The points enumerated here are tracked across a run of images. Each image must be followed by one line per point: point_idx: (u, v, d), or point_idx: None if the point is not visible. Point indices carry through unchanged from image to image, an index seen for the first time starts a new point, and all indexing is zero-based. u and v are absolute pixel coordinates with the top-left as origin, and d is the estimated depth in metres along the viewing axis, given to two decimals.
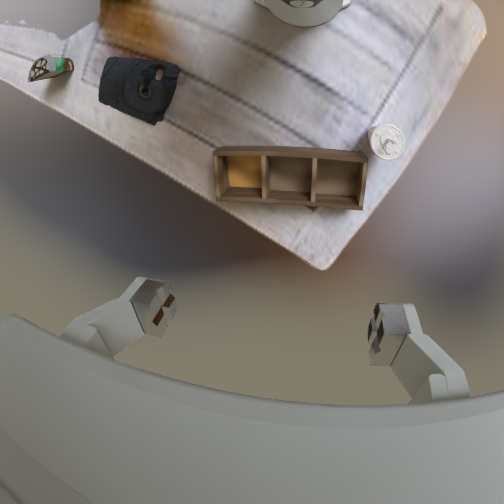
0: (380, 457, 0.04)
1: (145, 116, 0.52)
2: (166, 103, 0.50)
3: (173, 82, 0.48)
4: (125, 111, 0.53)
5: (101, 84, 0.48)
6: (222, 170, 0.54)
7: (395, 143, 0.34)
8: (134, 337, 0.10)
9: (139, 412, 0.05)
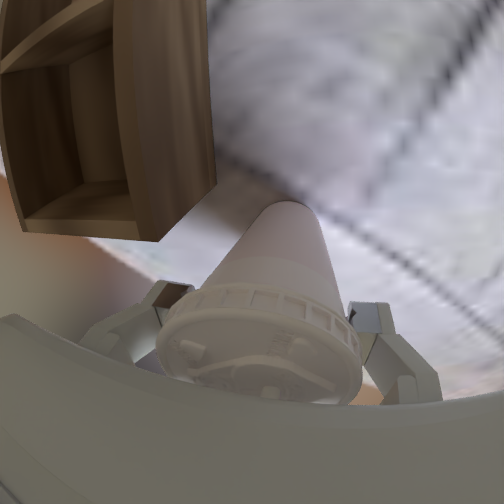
0: (380, 457, 0.04)
1: None
2: None
3: None
4: None
5: None
6: None
7: None
8: (155, 342, 0.10)
9: (139, 412, 0.05)
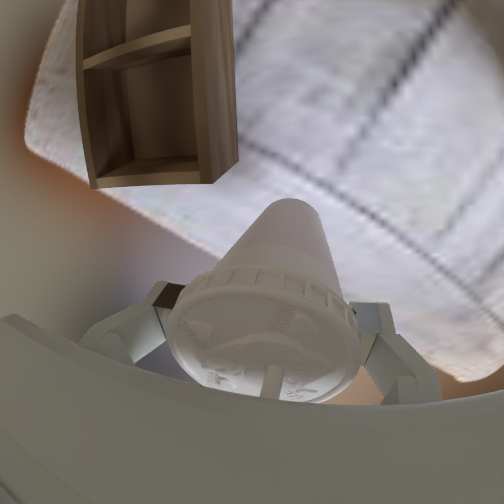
0: (380, 457, 0.04)
1: None
2: None
3: None
4: None
5: None
6: None
7: None
8: (155, 342, 0.10)
9: (139, 412, 0.05)
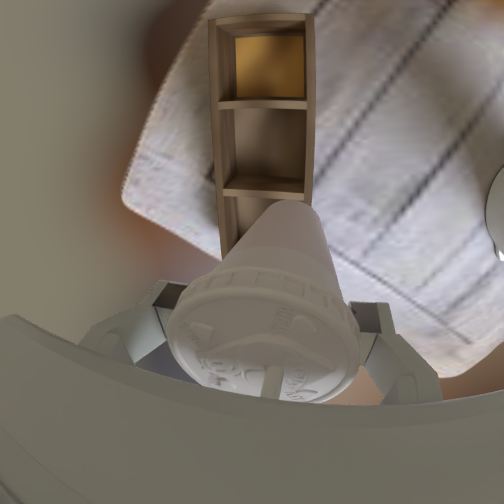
0: (380, 457, 0.04)
1: None
2: None
3: None
4: None
5: None
6: (269, 27, 0.20)
7: None
8: (155, 342, 0.10)
9: (139, 412, 0.05)
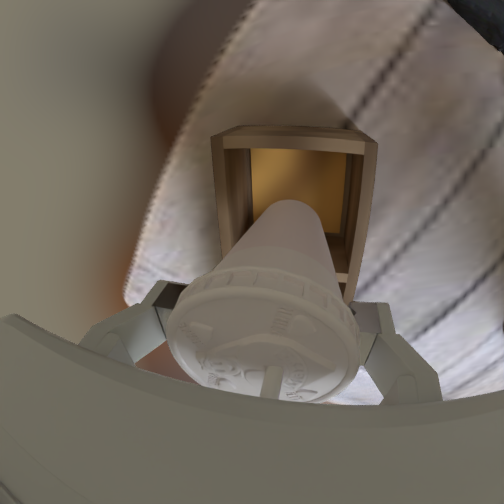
0: (380, 457, 0.04)
1: None
2: (464, 8, 0.09)
3: (502, 46, 0.09)
4: None
5: None
6: None
7: None
8: (155, 343, 0.10)
9: (139, 412, 0.05)
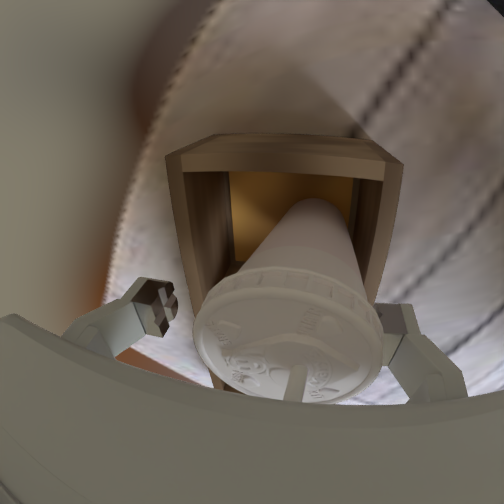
0: (380, 457, 0.04)
1: None
2: None
3: None
4: None
5: None
6: None
7: None
8: (135, 337, 0.10)
9: (139, 412, 0.05)
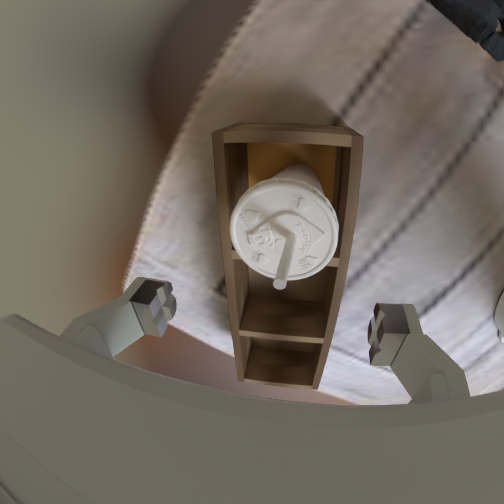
0: (380, 457, 0.04)
1: None
2: (442, 3, 0.10)
3: (480, 38, 0.11)
4: None
5: None
6: None
7: (279, 285, 0.12)
8: (133, 336, 0.10)
9: (139, 412, 0.05)
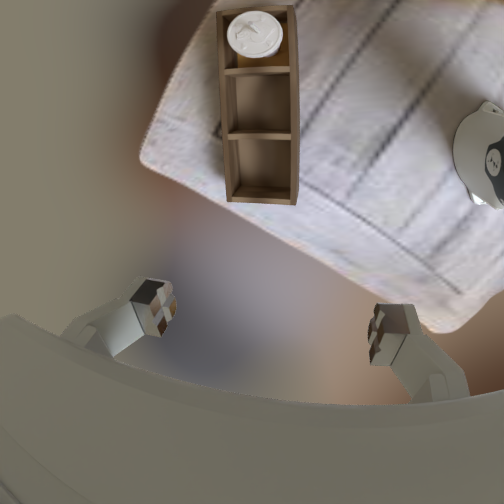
0: (380, 457, 0.04)
1: None
2: None
3: None
4: None
5: None
6: None
7: (250, 23, 0.19)
8: (134, 336, 0.10)
9: (139, 412, 0.05)
